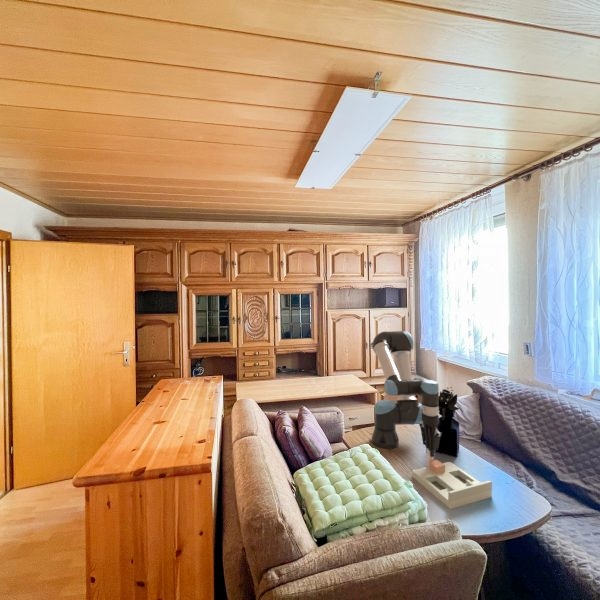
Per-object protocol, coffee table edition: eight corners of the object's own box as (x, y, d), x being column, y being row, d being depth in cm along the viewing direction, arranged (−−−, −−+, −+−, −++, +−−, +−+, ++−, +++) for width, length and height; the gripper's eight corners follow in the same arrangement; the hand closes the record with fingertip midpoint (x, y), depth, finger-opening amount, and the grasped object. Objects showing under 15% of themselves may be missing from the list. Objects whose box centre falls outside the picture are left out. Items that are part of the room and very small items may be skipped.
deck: (412, 476, 145) (412, 462, 145) (449, 467, 152) (449, 454, 152) (450, 509, 124) (450, 493, 123) (491, 496, 131) (491, 481, 130)
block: (428, 467, 147) (428, 461, 147) (437, 465, 149) (437, 459, 149) (436, 473, 142) (436, 467, 142) (444, 471, 144) (444, 465, 144)
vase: (428, 451, 168) (428, 387, 167) (432, 442, 177) (432, 381, 176) (458, 458, 160) (458, 391, 159) (460, 449, 170) (460, 385, 169)
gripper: (414, 409, 154) (414, 456, 154) (433, 419, 141) (433, 470, 142) (427, 407, 156) (427, 454, 157) (446, 417, 144) (446, 467, 144)
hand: (430, 462), depth 149 cm, fingers closed
